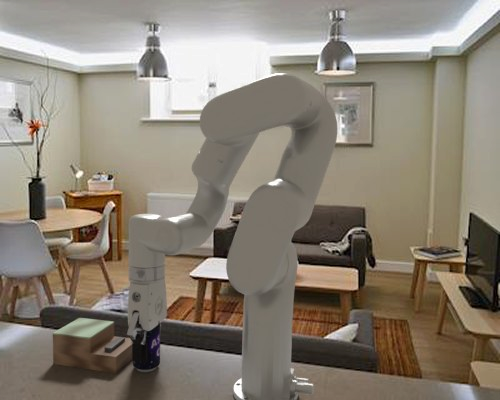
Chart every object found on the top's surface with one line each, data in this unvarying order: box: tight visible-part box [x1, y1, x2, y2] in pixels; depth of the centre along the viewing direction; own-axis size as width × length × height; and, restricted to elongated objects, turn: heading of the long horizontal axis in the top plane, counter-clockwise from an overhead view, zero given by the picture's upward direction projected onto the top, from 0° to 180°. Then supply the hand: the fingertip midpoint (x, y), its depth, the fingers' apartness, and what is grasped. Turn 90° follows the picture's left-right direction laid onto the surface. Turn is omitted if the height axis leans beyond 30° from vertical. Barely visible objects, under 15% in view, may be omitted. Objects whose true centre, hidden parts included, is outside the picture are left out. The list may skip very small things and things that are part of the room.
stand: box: [52, 317, 132, 374], centre depth 105 cm, size 15×10×7 cm, turn 77°
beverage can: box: [132, 321, 161, 373], centre depth 101 cm, size 6×6×12 cm
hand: (146, 354), depth 101 cm, fingers closed on beverage can, 5 cm apart
